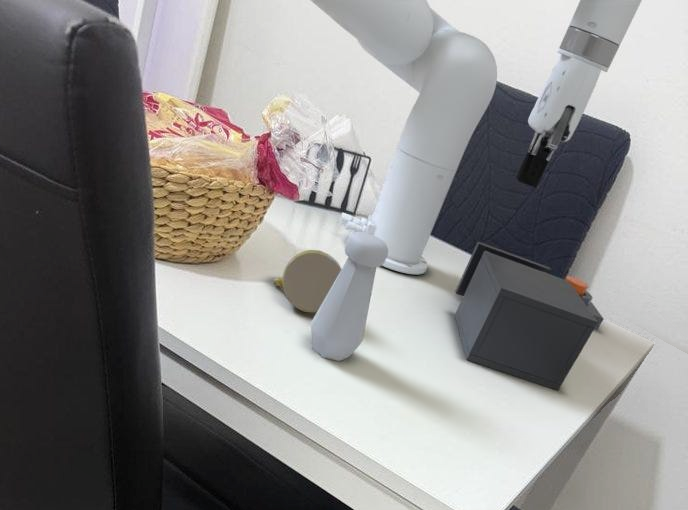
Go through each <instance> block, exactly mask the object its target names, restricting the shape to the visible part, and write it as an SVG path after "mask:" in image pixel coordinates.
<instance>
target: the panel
mask: <svg viewBox="0 0 688 510" xmlns="http://www.w3.org/2000/svg"><path fill="white" fill-rule="evenodd" d="M578 295H579V294H578ZM579 296H580V297H581V299H582V300H583V302H584V303H585V304H586V306H587V307H588V309H589V310H590V312H591V313H592V314H593V316H594V317H595V319H596V320H597V322H598V323H597V325H596V327H595V328H594V331H598V330H599V328H600V326H601V325H602V323H603V321H604V317H603V316H602V314H601V313H600V312H599V310H598V309H597V308H596V306H595V305H594V303H593V302H592V300H593V296H592V294H591V293H589V292H588V291H587V290H586V292H585V294H584V296H583V295H579Z"/></svg>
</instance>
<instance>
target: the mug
mask: <svg viewBox="0 0 688 510" xmlns="http://www.w3.org/2000/svg"><path fill="white" fill-rule="evenodd" d="M341 270H342V268H341V266H340V263H339V262H338V261H337V259H335V258H334V257H333V256H331V254H329V253H326V252H325V251H322V250H318V249H308V250H303V251H300V252H299V253H297V254H295V255H294V256H293V257H292V258H291V259H290V260H289V261H288V262H287V264H286V266H285V267H284V270H283V274H282V276H280V277H276V278H274V279H273V283H274V285H275V286H276V287H282V289H283V292H284V294H285V297H286V299H287V300H288V301H289V303H291V305H292V306H294V307H295V308H297V309H298V310H299V311H302V312H305V313H309V314H310V313H312V314H313V313H314V314H316V313H317V311H318V309H319V308H320V306H321V304H322V303H323V301H324V299H325V297H326V296H327V294H328V292H329V290H330V289H331V287H332V285H333V284H334V282H335V280H336V278H337V277H338V275H339V273H340V271H341Z"/></svg>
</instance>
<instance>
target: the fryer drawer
mask: <svg viewBox="0 0 688 510" xmlns="http://www.w3.org/2000/svg"><path fill="white" fill-rule="evenodd" d="M484 251H487V252H490V253H492V254H495V255H498V256H501V257H503V258H506V259H509V260H512V261H514V262H517V263H520V264H523V265H525V266H528V267H531V268H534V269H537V270H539V271H542V272H545V273H548V274H550V273H551V271H552V268H551V267H550V266H547V265H544V264H541V263H539V262H537V261H536V262H535V261H533V260H530V259H527V258H525V257H522V256H520V255H516V254H514V253H511V252H508V251H506V250H503V249H499V248H497V247H495V246H491V245H489V244H487V243H483V242H481V241H477V242H476V244H475V246H474V249H473V251H472V253H471V255H470V258H469V260H468V262H467V264H466V266H465V268H464V270H463V273H462V275H461V278H460V280H459V282H458V284H457V286H456V289H455V294H456V295H458V296H461V297H463V296H464V294H465V292H466V290H467V288H468V285H469V283H470V281H471V279H472V277H473V275H474V272H475V270H476V268H477V266H478V264H479V262H480V259H481V257H482V255H483V253H484Z"/></svg>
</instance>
